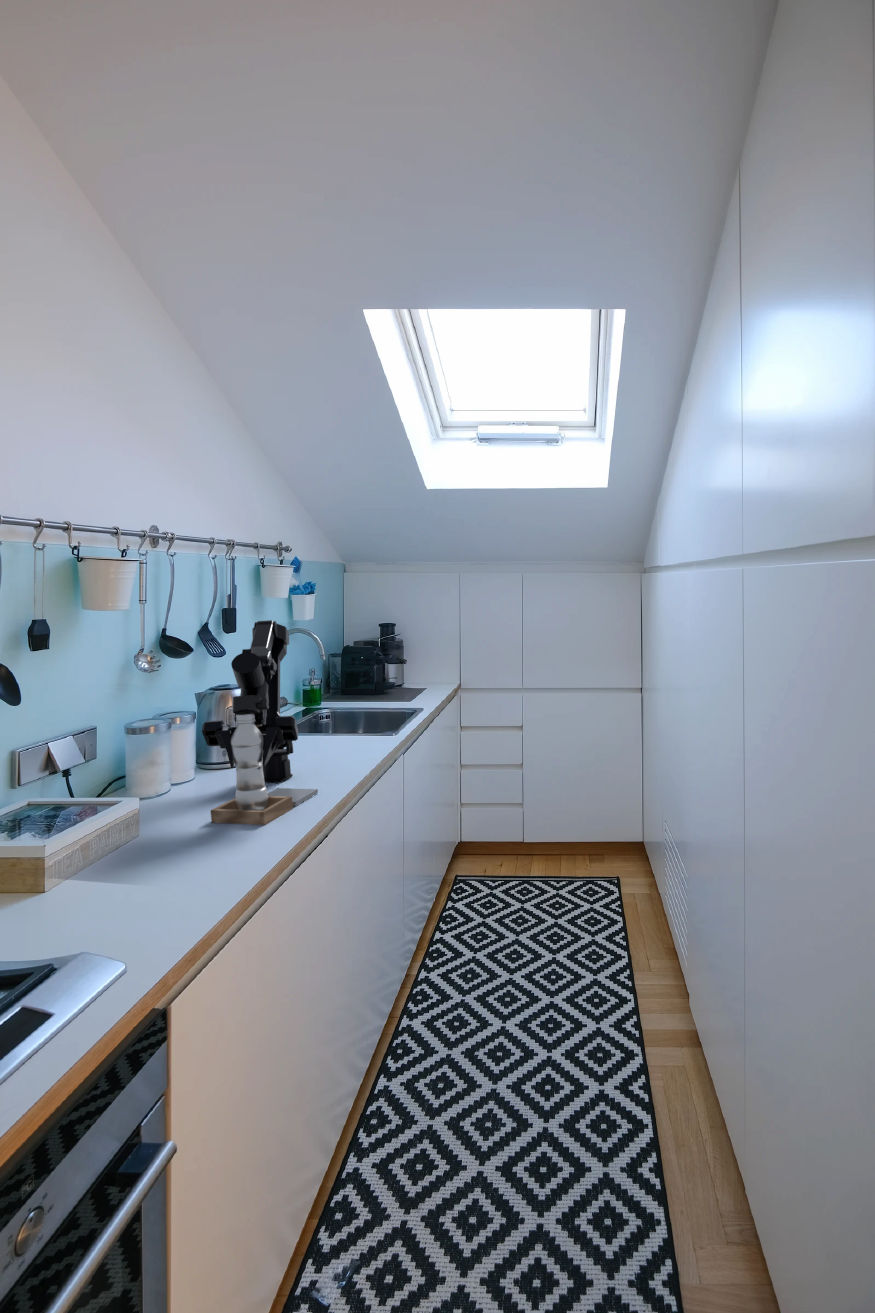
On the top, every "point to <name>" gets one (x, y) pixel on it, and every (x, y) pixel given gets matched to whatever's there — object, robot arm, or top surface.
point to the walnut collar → (251, 812)
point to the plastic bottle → (249, 764)
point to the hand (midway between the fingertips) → (247, 766)
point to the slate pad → (294, 794)
